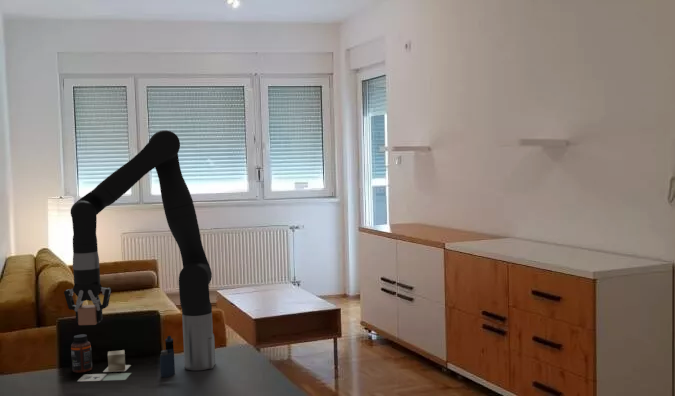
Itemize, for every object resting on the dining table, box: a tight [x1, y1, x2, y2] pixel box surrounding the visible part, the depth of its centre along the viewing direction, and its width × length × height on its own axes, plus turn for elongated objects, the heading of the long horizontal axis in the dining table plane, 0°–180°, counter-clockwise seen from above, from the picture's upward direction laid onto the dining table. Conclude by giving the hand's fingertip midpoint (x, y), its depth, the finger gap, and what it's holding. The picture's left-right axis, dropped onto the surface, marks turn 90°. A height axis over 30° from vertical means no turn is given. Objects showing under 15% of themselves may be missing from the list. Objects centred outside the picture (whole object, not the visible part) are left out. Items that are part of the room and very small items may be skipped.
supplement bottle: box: [70, 333, 93, 373], centre depth 240 cm, size 6×6×11 cm
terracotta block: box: [77, 304, 98, 326], centre depth 231 cm, size 5×5×5 cm
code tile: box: [77, 373, 107, 382], centre depth 232 cm, size 7×7×1 cm
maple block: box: [107, 349, 126, 371], centre depth 241 cm, size 5×5×5 cm
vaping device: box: [159, 335, 176, 378], centre depth 232 cm, size 3×5×12 cm, turn 155°
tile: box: [102, 364, 132, 373], centre depth 241 cm, size 7×7×1 cm
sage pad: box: [101, 372, 132, 382], centre depth 232 cm, size 7×7×1 cm
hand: (89, 322), depth 231 cm, fingers closed on terracotta block, 5 cm apart
